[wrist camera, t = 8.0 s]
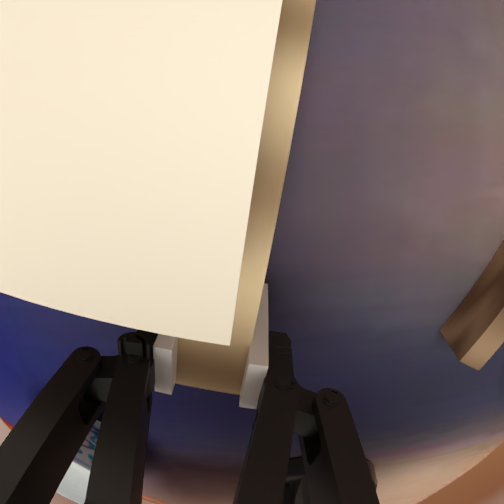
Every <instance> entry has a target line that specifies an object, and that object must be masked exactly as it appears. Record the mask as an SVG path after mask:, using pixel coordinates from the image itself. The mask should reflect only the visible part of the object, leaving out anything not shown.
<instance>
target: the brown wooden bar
mask: <svg viewBox="0 0 504 504" xmlns="http://www.w3.org/2000/svg"><path fill="white" fill-rule="evenodd" d="M439 331H440V332H441V334H442V335H443V336H444V338H445V339H446V341H447V342H448V344H449V346H450V347H451V349H452V350H453V352H454V353H455V355H456V356H457V358H458V359H459V361H460V362H462V363H464V364H466V365H468V366H470V367H472V368H474V369H476V370H478V371H479V370H480V369H481V368H482V366H483V365H484V364H485V363H486V362H487V361H488V360H489V359H490V357H491V356H492V355H493V354H494V353H495V352H496V350H497V349H498V348H499V347H500V346H501V344H502V343H503V342H504V241H503V243H502V244H501V246H500V247H499V249H498V251H497V252H496V254H495V255H494V257H493V258H492V260H491V261H490V263H489V264H488V266H487V267H486V269H485V270H484V272H483V273H482V275H481V276H480V278H479V279H478V281H477V282H476V283H475V285H474V286H473V288H472V289H471V290H470V292H469V293H468V294H467V296H466V297H465V298H464V300H463V301H462V302H461V304H460V305H459V306H458V308H457V309H456V310H455V311H454V313H453V314H452V315H451V316H450V318H449V319H448V320H447V321H446V323H445V324H444V325H443V326H442V327H441V329H440V330H439Z"/></svg>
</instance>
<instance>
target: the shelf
mask: <svg viewBox="0 0 504 504" xmlns="http://www.w3.org/2000/svg"><path fill="white" fill-rule="evenodd" d="M282 1H283V0H0V292H2V293H5V294H8V295H11V296H14V297H17V298H20V299H23V300H26V301H30V302H33V303H36V304H40V305H43V306H46V307H50V308H53V309H57V310H61V311H64V312H68V313H72V314H75V315H79V316H83V317H87V318H91V319H95V320H99V321H103V322H107V323H112V324H116V325H120V326H125V327H129V328H134V329H139V330H143V331H148V332H153V333H158V334H163V335H168V336H174V337H179V338H185V339H190V340H196V341H202V342H208V343H214V344H221V345H227V346H230V341H231V334H232V327H233V321H234V314H235V307H236V300H237V293H238V286H239V279H240V272H241V266H242V259H243V252H244V245H245V238H246V232H247V225H248V218H249V212H250V205H251V198H252V192H253V185H254V178H255V172H256V165H257V159H258V152H259V146H260V139H261V133H262V126H263V120H264V114H265V107H266V101H267V94H268V88H269V82H270V75H271V69H272V63H273V57H274V50H275V44H276V38H277V32H278V26H279V20H280V14H281V7H282Z"/></svg>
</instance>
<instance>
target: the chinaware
mask: <svg viewBox="0 0 504 504" xmlns="http://www.w3.org/2000/svg"><path fill="white" fill-rule="evenodd" d="M100 424H101V422H100V421H98V420H96V422H95V423H94V425H93V427H92V428H91V430H90V432H89V434H88V435H87V437H86V439H85V441H84V442H83V444H82V446H81V447H80V449H79V451H78V453H77V455H76V456H75V458H74V460H73V462H72V463H71V465H70V467H69V469H68V471H67V472H66V474H65V476H64V478H63V480H62V481H61V483H60V485H59V487H58V489H57V491H56V492H57V493H59V494H61V495H63V496H65V497H66V498H68V499H70V500H72V501H75V502H77V503H79V504H84V502H85V498H86V492H87V487H88V481H89V476H90V471H91V465H92V461H93V456H94V451H95V446H96V442H97V437H98V433H99V429H100Z"/></svg>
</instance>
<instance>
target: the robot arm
mask: <svg viewBox="0 0 504 504" xmlns="http://www.w3.org/2000/svg"><path fill="white" fill-rule="evenodd" d="M117 341H118V350H119V355H117V356H100V353H99V352H98V350H96V349H94V348H92V347H88V346H87V347H80V348H78V349H76V350H75V351H73V352H72V354H71V355H70V356H69V357H68V358H67V360H66V361H65V362H64V363H63V364H62V366H61V367H60V368H59V369H58V371H57V372H56V373H55V374H54V376H53V377H52V378H51V379H50V381H49V382H48V383H47V384H46V386H45V387H44V388H43V389H42V391H41V392H40V393H39V395H38V396H37V397H36V398H35V400H34V401H33V402H32V404H31V405H30V406H29V408H28V409H27V410H26V412H25V413H24V414H23V416H22V417H21V418H20V420H19V421H18V422H17V424H16V425H15V426H14V428H13V429H12V430H11V432H10V433H9V435H8V436H7V437H6V439H5V441H4V442H3V443H2V445H1V446H0V504H50V502H51V500H52V498H53V496H54V494H55V492H56V491H57V489H58V487H59V485H60V483H61V481H62V480H63V478H64V476H65V474H66V472H67V471H68V469H69V467H70V465H71V463H72V462H73V460H74V458H75V456H76V455H77V453H78V451H79V449H80V447H81V446H82V444H83V442H84V441H85V439H86V437H87V435H88V434H89V432H90V430H91V428H92V427H93V425H94V423H95V422H96V420H97V418H98V417H99V415H100V413H101V411H102V410H103V408H104V406H105V408H104V412H103V416H102V420H101V424H100V429H99V433H98V437H97V442H96V446H95V451H94V456H93V461H92V465H91V471H90V476H89V481H88V487H87V492H86V498H85V502H84V504H141V503H142V490H143V477H144V466H145V456H146V446H147V437H148V429H149V421H150V413H151V405H152V390H153V387H154V385H155V391H156V392H160V393H165V394H169V395H172V392H173V388H174V385H175V382H176V369H177V350H178V337H174V336H168V335H163V334H158V333H153V332H148V331H143V330H139V329H138V331H137V332H129V333H125V334H123V335H121V336H120V337H119V339H118V340H117ZM257 405H258V411H257V414H256V418H255V421H254V424H253V430H252V434H251V438H250V442H249V445H248V449H247V453H246V457H245V461H244V465H243V468H242V472H241V476H240V480H239V483H238V487H237V491H236V494H235V498H234V501H233V504H380V503H379V500H378V497H377V493H376V488H377V479H376V474H375V469H374V466H373V464H372V463H371V462H369V461H368V460H366V458H365V455H364V452H363V449H362V446H361V443H360V440H359V437H358V434H357V431H356V428H355V425H354V422H353V419H352V416H351V413H350V410H349V407H348V404H347V401H346V399H345V397H344V395H343V394H342V393H340V392H339V391H337V390H335V389H330V388H325V389H321V390H320V391H318V393H315V392H312V391H309V390H306V389H304V388H302V387H301V386H300V385H299V384H298V382H297V380H296V379H295V378H294V372H293V361H292V350H291V340H290V339H289V337H288V336H287V334H286V333H280V332H273V331H268V284H265V283H264V286H263V291H262V295H261V300H260V305H259V310H258V315H257V320H256V324H255V329H254V334H253V339H252V343H251V344H250V348H249V353H248V357H247V362H246V367H245V372H244V377H243V381H242V386H241V391H240V401H239V407H244V408H251V409H256V408H257ZM293 433H295V434H298V436H299V441H300V446H301V452H302V458H297V459H292V460H289V456H290V449H291V442H292V435H293Z"/></svg>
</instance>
